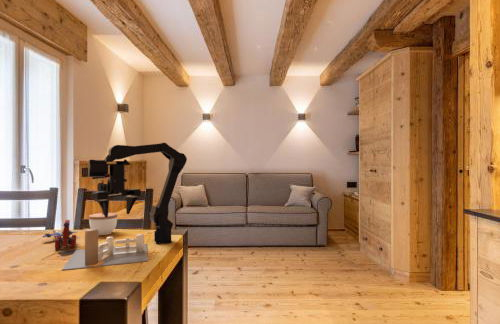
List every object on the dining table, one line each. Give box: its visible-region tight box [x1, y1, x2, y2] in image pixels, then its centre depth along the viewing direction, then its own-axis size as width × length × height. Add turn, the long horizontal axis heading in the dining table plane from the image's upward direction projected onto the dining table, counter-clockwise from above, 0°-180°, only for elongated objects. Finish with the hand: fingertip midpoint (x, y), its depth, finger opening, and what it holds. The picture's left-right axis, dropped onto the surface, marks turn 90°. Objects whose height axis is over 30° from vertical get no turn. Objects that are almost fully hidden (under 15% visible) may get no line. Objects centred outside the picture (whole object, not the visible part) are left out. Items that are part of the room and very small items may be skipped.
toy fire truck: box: [54, 219, 77, 250], centre depth 128 cm, size 7×12×10 cm, turn 26°
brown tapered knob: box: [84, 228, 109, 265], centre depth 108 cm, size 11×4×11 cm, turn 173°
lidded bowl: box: [88, 210, 118, 236], centre depth 152 cm, size 13×13×11 cm
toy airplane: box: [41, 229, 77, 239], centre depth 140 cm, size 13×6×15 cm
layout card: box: [61, 243, 149, 271], centre depth 115 cm, size 26×24×1 cm
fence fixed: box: [106, 233, 145, 255], centre depth 118 cm, size 13×3×6 cm, turn 109°
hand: (117, 215), depth 125 cm, fingers open, 9 cm apart
